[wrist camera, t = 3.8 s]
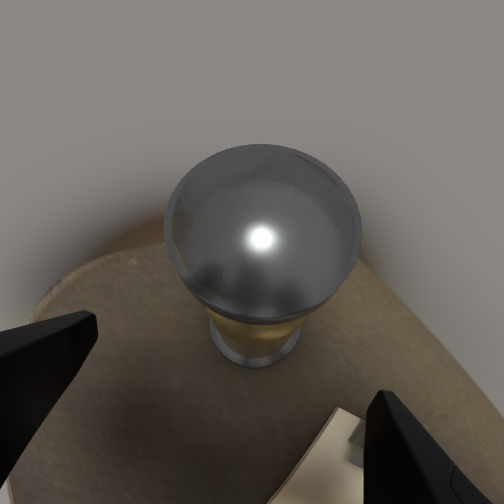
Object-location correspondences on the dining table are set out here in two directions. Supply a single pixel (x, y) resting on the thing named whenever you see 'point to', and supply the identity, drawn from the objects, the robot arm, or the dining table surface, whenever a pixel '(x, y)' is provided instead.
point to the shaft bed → (329, 466)
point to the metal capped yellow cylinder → (261, 245)
